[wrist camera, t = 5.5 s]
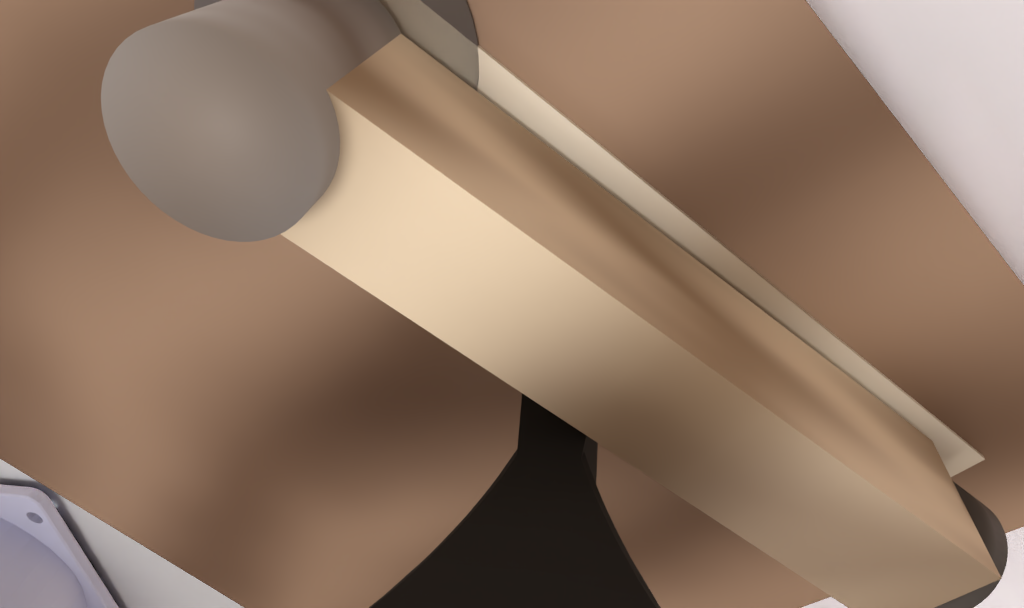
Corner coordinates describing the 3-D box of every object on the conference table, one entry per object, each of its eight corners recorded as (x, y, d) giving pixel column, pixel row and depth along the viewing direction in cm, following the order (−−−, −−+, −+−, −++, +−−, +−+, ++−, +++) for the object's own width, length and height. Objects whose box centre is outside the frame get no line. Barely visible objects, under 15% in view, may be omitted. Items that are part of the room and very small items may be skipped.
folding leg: (228, 75, 10) (76, 157, 8) (292, -68, 9) (137, -34, 6) (859, 518, 13) (917, 694, 11) (971, 457, 12) (1071, 637, 9)
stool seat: (1103, 399, 14) (1171, 478, 12) (465, 672, 23) (451, 737, 22) (320, -619, 8) (230, -752, 6) (-97, 307, 18) (-177, 356, 16)
